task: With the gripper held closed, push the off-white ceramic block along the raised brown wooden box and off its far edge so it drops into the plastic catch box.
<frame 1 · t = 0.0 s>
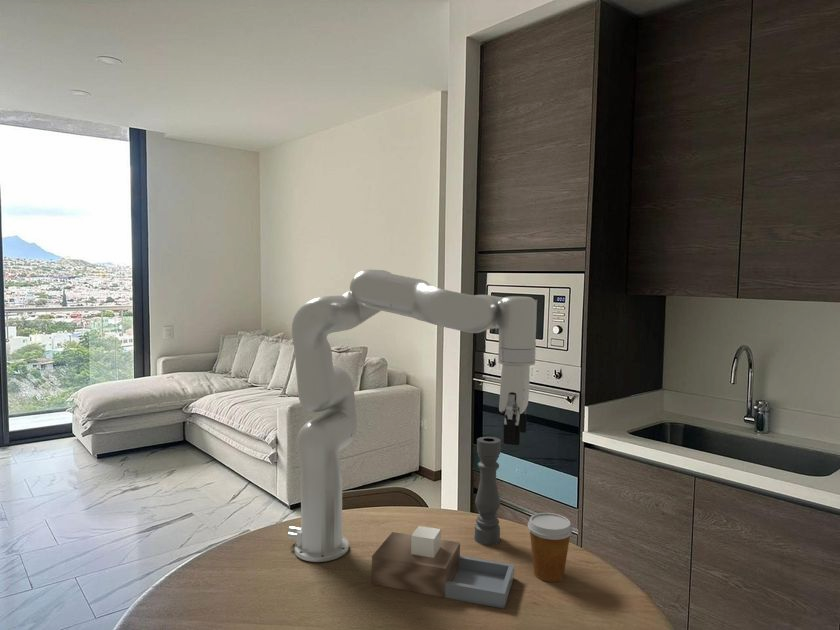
hand: (515, 437, 118), 31 cm above the table, tool pointing down, fingers open, 9 cm apart
brown wooden box: (416, 576, 122), on the table
catch box: (480, 587, 118), on the table
candle holder: (487, 540, 140), on the table
white block: (426, 550, 121), point 6 cm above the table, touching brown wooden box
disposable coffee cup: (548, 575, 124), on the table
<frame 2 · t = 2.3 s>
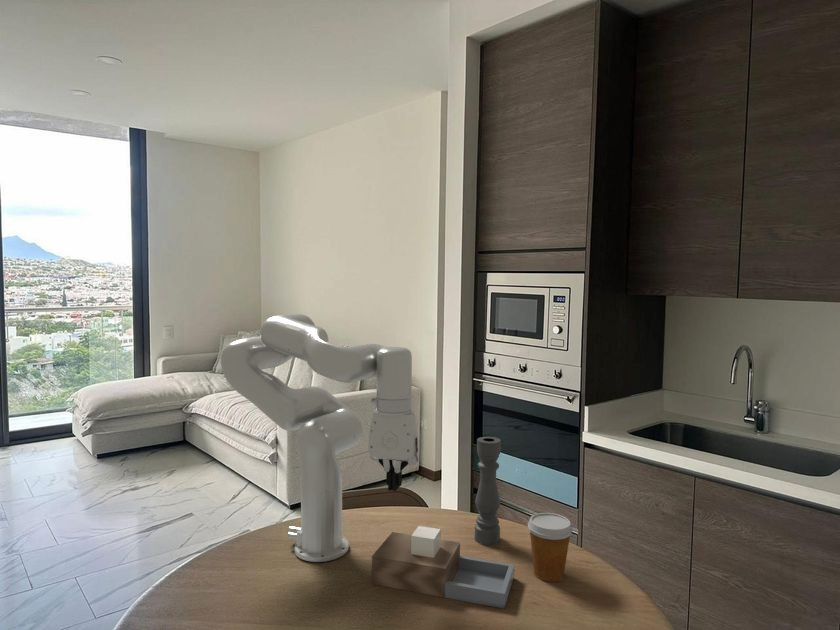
hand: (394, 488, 123), 19 cm above the table, tool pointing down, fingers closed
nothing on the table moved.
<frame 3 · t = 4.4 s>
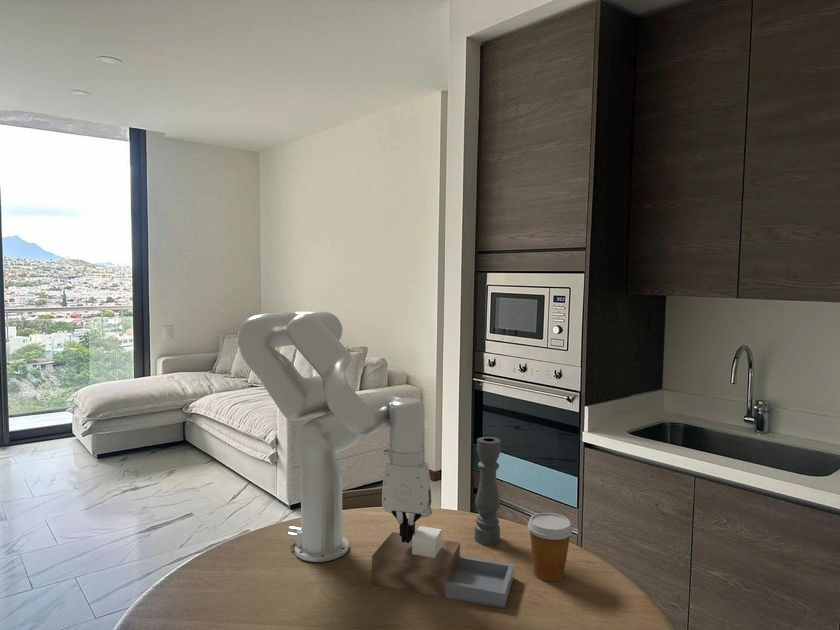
hand: (407, 539, 122), 8 cm above the table, tool pointing down, fingers closed
white block: (427, 550, 121), point 6 cm above the table, touching gripper
everything else where it was.
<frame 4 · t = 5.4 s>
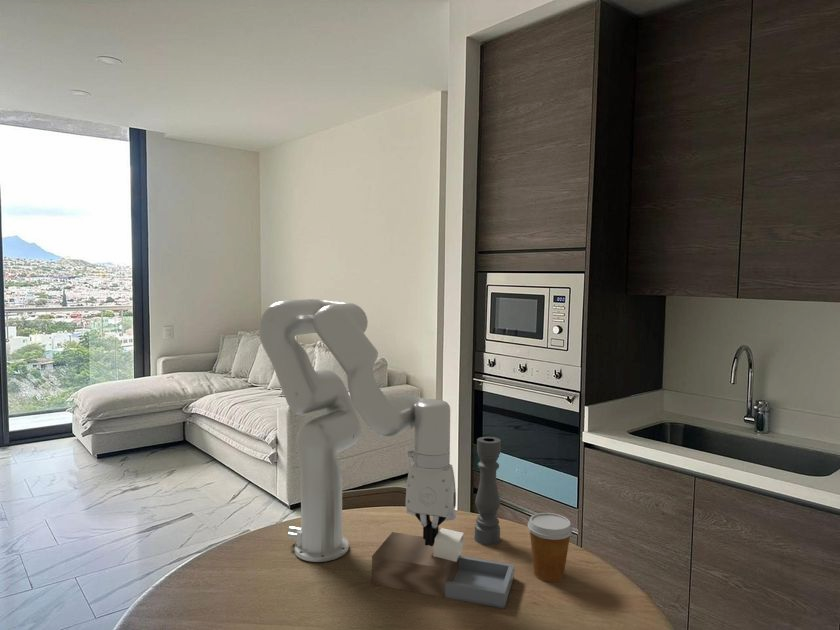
hand: (430, 542, 121), 8 cm above the table, tool pointing down, fingers closed
white block: (447, 553, 120), point 6 cm above the table, touching brown wooden box, gripper
everything else where it was.
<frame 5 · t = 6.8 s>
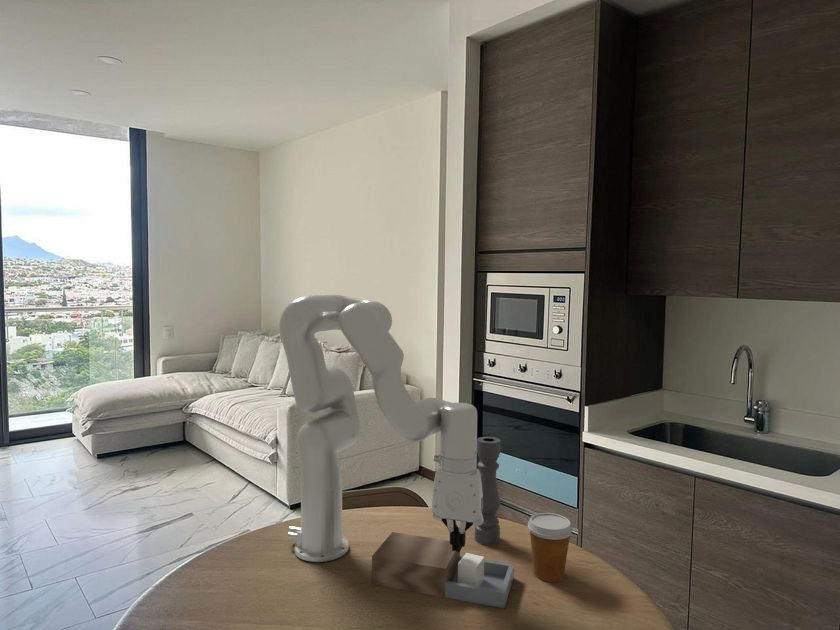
hand: (457, 548, 119), 8 cm above the table, tool pointing down, fingers closed
white block: (462, 569, 119), point 3 cm above the table, tilted 90°, touching catch box
everything else where it was.
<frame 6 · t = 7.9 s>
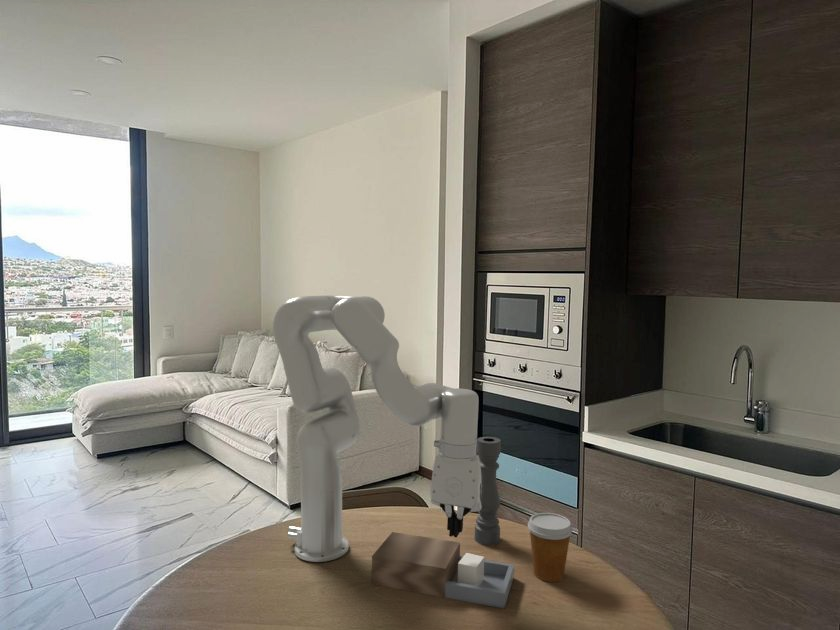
hand: (454, 533, 119), 11 cm above the table, tool pointing down, fingers closed
nothing on the table moved.
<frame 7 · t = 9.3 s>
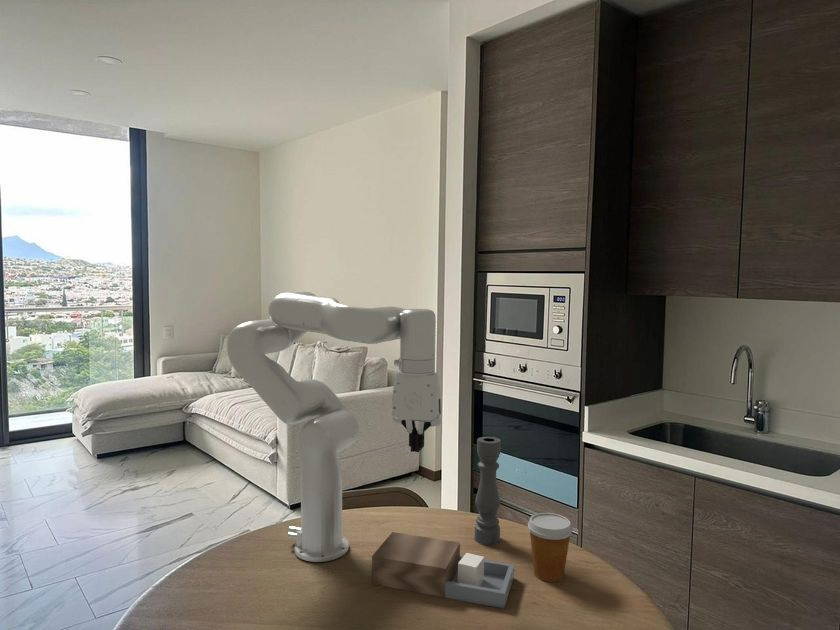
hand: (416, 450, 123), 27 cm above the table, tool pointing down, fingers closed
nothing on the table moved.
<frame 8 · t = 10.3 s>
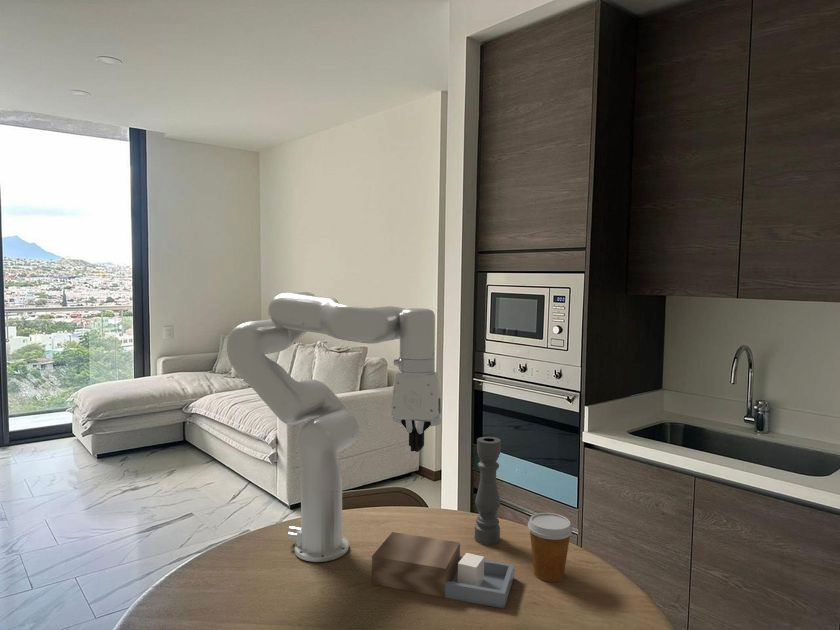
hand: (416, 449, 123), 27 cm above the table, tool pointing down, fingers closed
nothing on the table moved.
at the end: white block inside the target area on the catch box (3.9 cm from its centre), point 3.0 cm above the catch box's base; white block moved 8.5 cm from its start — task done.
